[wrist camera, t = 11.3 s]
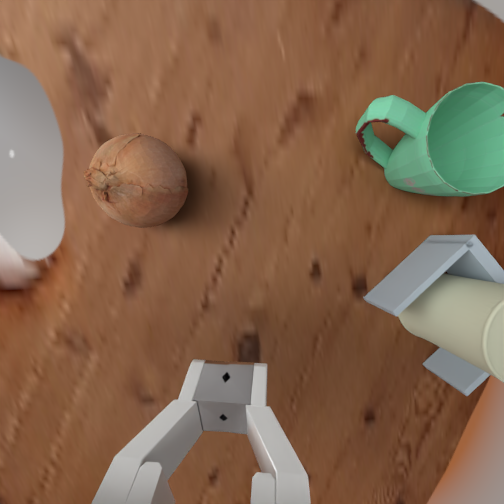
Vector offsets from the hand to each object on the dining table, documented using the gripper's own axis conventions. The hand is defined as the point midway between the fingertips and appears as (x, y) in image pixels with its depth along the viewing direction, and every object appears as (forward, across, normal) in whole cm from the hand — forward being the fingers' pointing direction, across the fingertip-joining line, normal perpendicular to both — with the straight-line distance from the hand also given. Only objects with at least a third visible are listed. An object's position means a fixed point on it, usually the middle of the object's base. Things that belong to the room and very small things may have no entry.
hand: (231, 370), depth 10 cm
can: (+21, -23, +13) cm, 34 cm away
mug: (+28, -16, -4) cm, 32 cm away
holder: (+21, -22, +13) cm, 34 cm away
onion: (+22, +13, -2) cm, 26 cm away
